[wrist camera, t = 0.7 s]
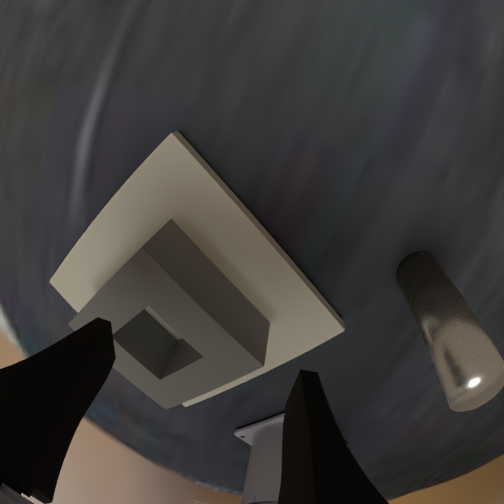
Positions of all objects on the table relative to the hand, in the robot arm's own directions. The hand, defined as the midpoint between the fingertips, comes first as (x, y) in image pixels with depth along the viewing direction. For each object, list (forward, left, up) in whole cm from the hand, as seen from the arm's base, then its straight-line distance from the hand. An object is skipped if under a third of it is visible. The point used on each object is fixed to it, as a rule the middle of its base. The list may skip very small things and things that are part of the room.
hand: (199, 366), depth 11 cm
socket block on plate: (0, +6, -10) cm, 11 cm away
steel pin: (-8, -8, -10) cm, 15 cm away
